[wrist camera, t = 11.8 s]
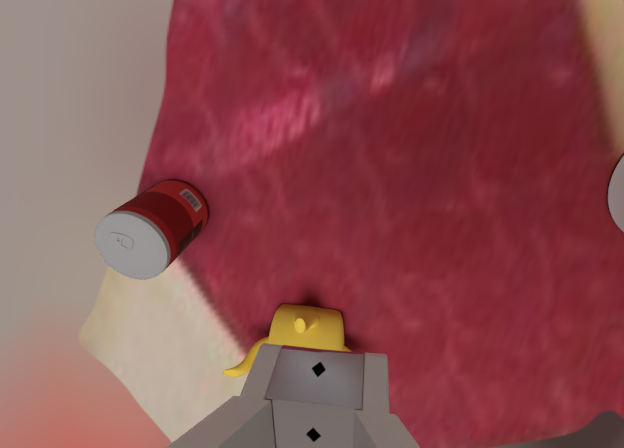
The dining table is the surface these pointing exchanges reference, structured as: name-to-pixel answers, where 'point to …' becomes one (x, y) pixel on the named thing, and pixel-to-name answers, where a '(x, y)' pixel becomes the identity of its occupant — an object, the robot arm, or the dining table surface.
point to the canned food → (151, 229)
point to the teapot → (299, 332)
